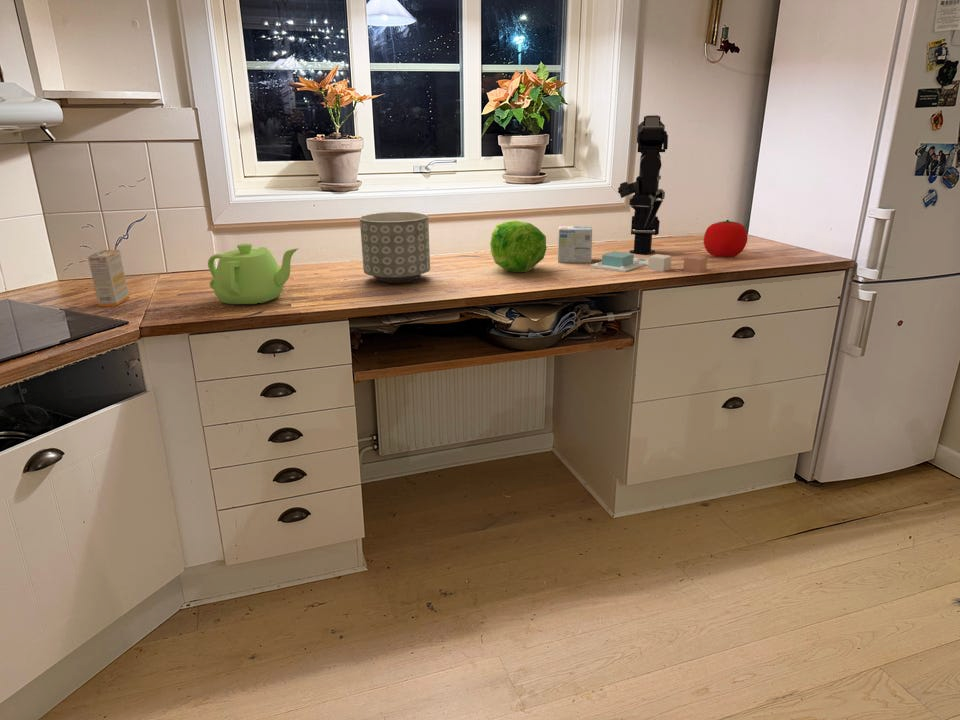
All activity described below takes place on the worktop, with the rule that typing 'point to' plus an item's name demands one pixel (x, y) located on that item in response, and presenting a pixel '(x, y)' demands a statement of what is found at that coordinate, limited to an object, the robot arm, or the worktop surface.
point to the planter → (395, 245)
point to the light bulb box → (574, 244)
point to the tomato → (725, 239)
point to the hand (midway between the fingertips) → (645, 226)
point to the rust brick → (695, 263)
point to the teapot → (248, 275)
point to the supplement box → (108, 277)
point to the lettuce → (517, 246)
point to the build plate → (623, 269)
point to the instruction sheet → (641, 260)
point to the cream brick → (659, 262)
